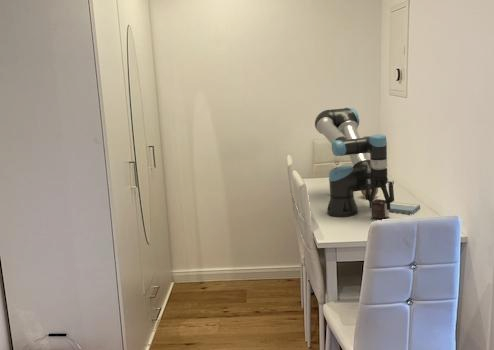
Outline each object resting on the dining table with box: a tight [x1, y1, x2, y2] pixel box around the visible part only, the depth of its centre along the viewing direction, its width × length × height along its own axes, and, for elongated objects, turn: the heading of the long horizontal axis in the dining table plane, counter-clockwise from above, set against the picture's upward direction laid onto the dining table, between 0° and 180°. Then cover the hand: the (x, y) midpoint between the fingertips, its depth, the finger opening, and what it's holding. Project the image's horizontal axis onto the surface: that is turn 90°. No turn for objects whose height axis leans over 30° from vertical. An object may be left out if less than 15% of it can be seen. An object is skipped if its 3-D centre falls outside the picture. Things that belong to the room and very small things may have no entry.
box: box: [370, 198, 386, 218], centre depth 232 cm, size 6×6×7 cm
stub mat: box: [370, 215, 390, 221], centre depth 233 cm, size 7×6×1 cm
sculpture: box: [360, 188, 379, 198], centre depth 269 cm, size 9×9×15 cm
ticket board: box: [389, 201, 421, 216], centre depth 242 cm, size 14×12×2 cm
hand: (380, 215), depth 233 cm, fingers closed on box, 6 cm apart
